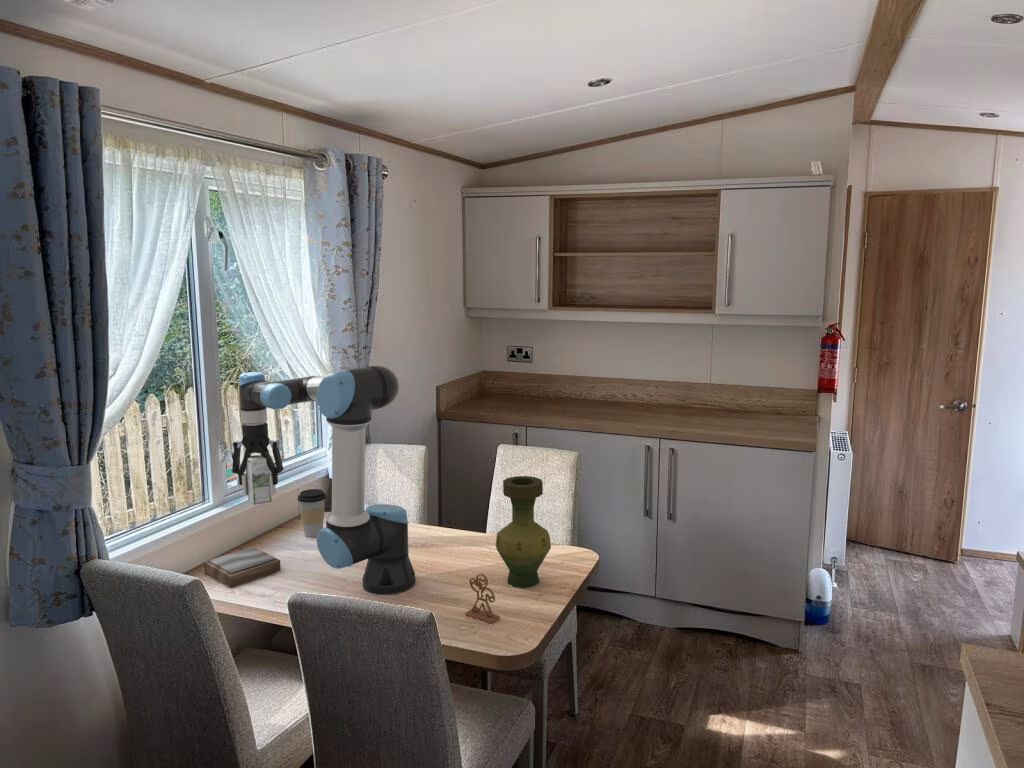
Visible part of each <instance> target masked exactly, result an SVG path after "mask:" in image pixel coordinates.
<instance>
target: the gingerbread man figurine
mask: <svg viewBox="0 0 1024 768" xmlns="http://www.w3.org/2000/svg"><path fill="white" fill-rule="evenodd" d="M480 576H481V577H480ZM482 577H483V579H482ZM468 583H469V586H470V588H471V589H472V591H474V592H475V593H476V600H475V602H474V605H472V608H470V609H469V610H467V611H465V613H464V614H465V615H466V616H469V617H472V618H474V619H473V620H475V619H478V620H480V621H479V622H481V621H483V622H482V623H484V622H486V623H485V624H487V623H488V624H487V625H490V624H492V625H494V624H495V622H496V621H497V622H499V621H500V620H501V616H500V615H499V614H496V613H493V611H492V607H490V604H489V603H492V604H493V603H494V602H495V601H496V595H495V593H494V592H493V590H492V589H491V588H489V587H488V585H489V579H488V577H487V576H486V575H485V574H484V573H479V574H477V575H476V577H471V578H469V582H468ZM474 585H475V586H476V587H477V588H478V589H476V588H475V587H474ZM486 590H487V591H488V592H489V593H490V594H489V593H485V594H484V592H485V591H486ZM490 595H491V596H490ZM479 601H481V602H482V603H481V604H480V605H479V607H478V606H477V604H478V602H479ZM484 603H485V604H486V607H487V609H488V610H487V609H486V607H485V604H484ZM466 616H465V617H466ZM469 617H468V618H469ZM472 618H471V619H472ZM478 620H477V621H478ZM498 620H499V621H498ZM497 622H496V623H497ZM493 623H494V624H493Z"/></svg>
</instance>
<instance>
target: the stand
mask: <svg viewBox="0 0 1024 768" xmlns="http://www.w3.org/2000/svg"><path fill="white" fill-rule="evenodd" d="M203 568H204V569H203V570H204V574H205V575H208V576H209V577H211V578H213V579H214V580H216V581H217V582H220V583H221V584H224V585H225V586H226V587H228V588H230V589H231V588H235V587H238V586H241V585H244V584H246V583H249V582H253V581H255V580H259V579H261V578H264V577H268V576H270V575H272V574H276V573H279V572H282V571H281V570H282V569H281V559H279V558H277V557H275V556H273V555H270V554H269V553H266V552H264V551H263V550H260V549H258V548H256V547H253V546H251V547H248V548H244V549H241V550H237V551H234V552H230V553H227V554H224V555H222V556H218V557H214V558H211V559H209V560H206V561H205V560H204V561H203Z"/></svg>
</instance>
